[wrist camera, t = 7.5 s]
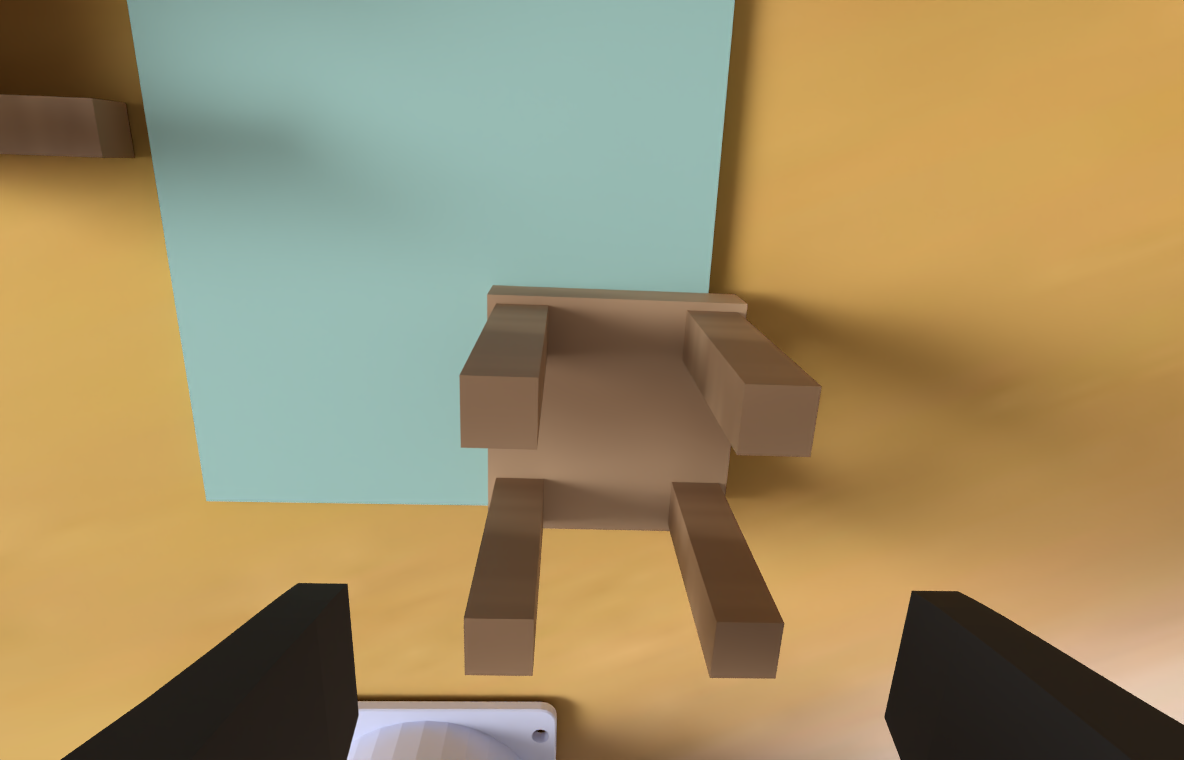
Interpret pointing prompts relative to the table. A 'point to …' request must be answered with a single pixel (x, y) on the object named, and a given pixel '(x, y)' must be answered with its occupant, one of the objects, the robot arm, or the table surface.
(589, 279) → the mat
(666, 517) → the upturned stool
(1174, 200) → the table surface
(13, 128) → the toppled stool
